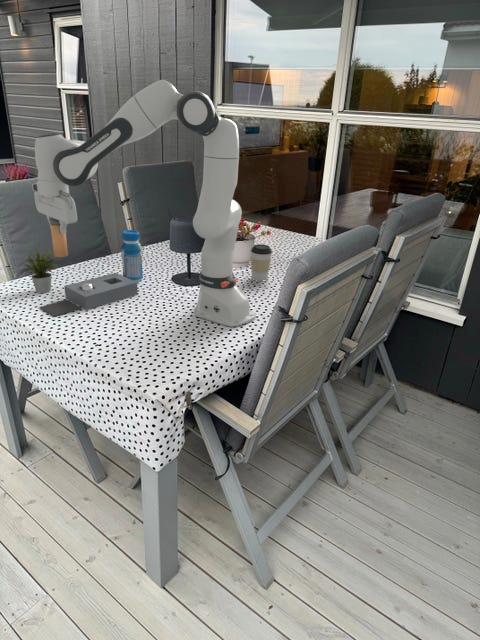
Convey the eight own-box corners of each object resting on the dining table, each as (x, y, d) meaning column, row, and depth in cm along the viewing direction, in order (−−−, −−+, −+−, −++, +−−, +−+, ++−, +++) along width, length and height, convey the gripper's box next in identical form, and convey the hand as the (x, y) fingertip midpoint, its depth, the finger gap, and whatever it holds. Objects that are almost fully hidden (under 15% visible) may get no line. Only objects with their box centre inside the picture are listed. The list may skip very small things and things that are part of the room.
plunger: (89, 295, 167) (88, 281, 165) (95, 298, 165) (94, 284, 163) (81, 298, 165) (79, 284, 162) (86, 301, 163) (85, 286, 160)
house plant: (48, 301, 163) (42, 258, 156) (14, 296, 165) (7, 253, 158) (70, 287, 175) (65, 247, 168) (37, 283, 178) (31, 243, 171)
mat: (81, 309, 158) (80, 307, 158) (54, 317, 151) (54, 315, 151) (66, 300, 164) (65, 299, 164) (39, 308, 157) (39, 306, 157)
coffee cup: (270, 276, 200) (272, 243, 194) (269, 283, 192) (272, 249, 186) (249, 274, 201) (252, 242, 194) (248, 281, 193) (250, 247, 186)
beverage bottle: (131, 284, 183) (129, 235, 174) (118, 278, 187) (115, 231, 179) (147, 279, 189) (145, 232, 180) (134, 274, 193) (131, 228, 185)
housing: (116, 284, 181) (115, 272, 179) (137, 294, 173) (137, 282, 171) (65, 298, 166) (64, 285, 164) (86, 310, 158) (85, 296, 156)
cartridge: (71, 255, 152) (67, 220, 147) (58, 258, 149) (54, 222, 144) (63, 252, 155) (60, 217, 150) (50, 254, 152) (46, 219, 146)
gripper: (80, 193, 139) (84, 237, 144) (47, 182, 150) (52, 223, 156) (61, 194, 134) (65, 240, 140) (29, 184, 146) (34, 226, 152)
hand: (58, 231), depth 148 cm, fingers closed on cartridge, 4 cm apart
